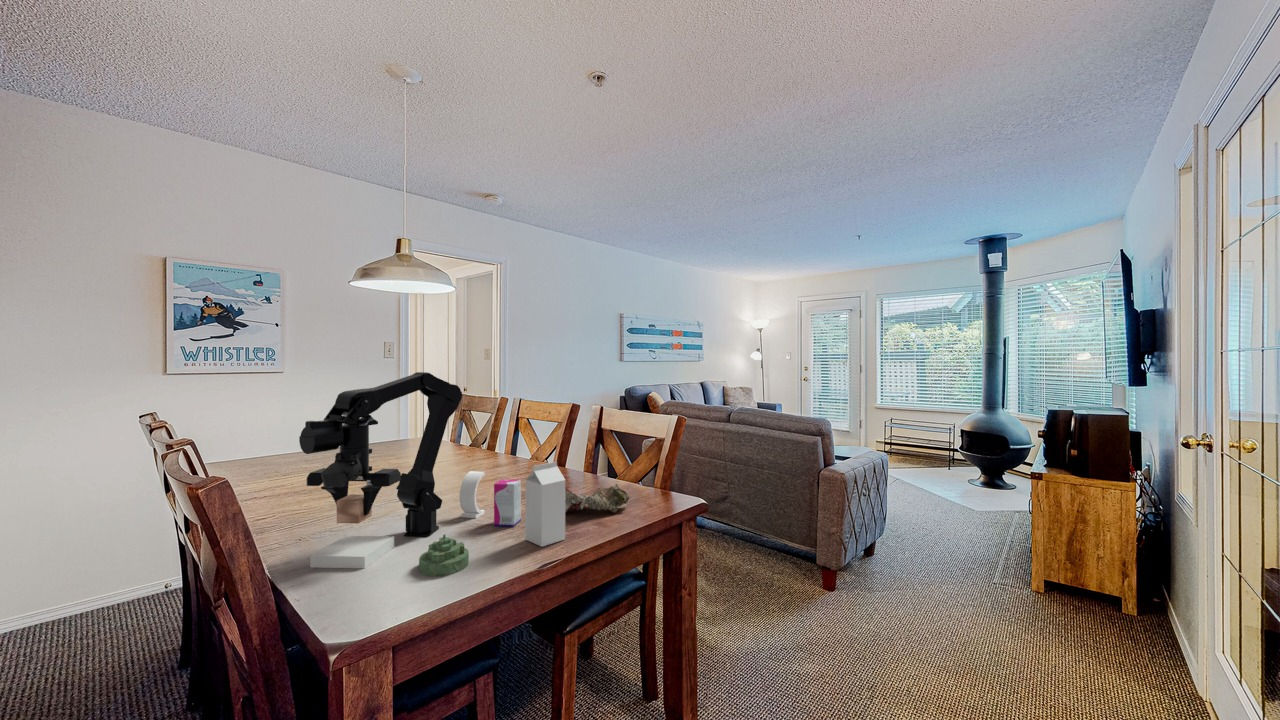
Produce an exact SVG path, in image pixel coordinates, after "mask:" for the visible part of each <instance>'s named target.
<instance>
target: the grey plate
mask: <svg viewBox="0 0 1280 720" xmlns="http://www.w3.org/2000/svg"><path fill="white" fill-rule="evenodd" d="M394 548H395V536H387V535H385V536H384V535H383V536H378V535H376V536H375V535H374V536H373V535H371V536H370V535H344V536H342V537H340V538H338V539H337V540H335V541H333V542H332V543H330V544H328V545H326V546H325V547H323V548H321V549H319V550H318V551H316V552H314V553H312V554H311V555H310V556H309V568H321V569H324V568H325V569H366V568H367V567H369V566H370V565H372V564H373V563H374V562H375V561H377V560H379V559H380V558H381V557H382V556H384V555H385V554H387V553H388V552H390V550H392V549H394Z"/></svg>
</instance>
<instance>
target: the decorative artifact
mask: <svg viewBox="0 0 1280 720" xmlns="http://www.w3.org/2000/svg"><path fill="white" fill-rule="evenodd" d="M469 556H470V555H469V550H468V548H466V547H465V543H464V542H462V541H461V542H457V540H456V538H452V537H450V538H449V537H448V536H447V537H446V534H443V535H442V537H439V540H438V541H433V542H432V543H430V544H428V549H427V551H425V552H423V553H422V554H421V555H420V556H419V558H418V560H419V561H418V564H419V565H418V571H419V573H420V574H421V575H424V576H427V577H428V576H429V577H444V576H448V575H453V574H457V573H459V572H461V571H463V570H465V569H466V568H467V567H468V566H469V562H470V561H469V559H470V557H469Z"/></svg>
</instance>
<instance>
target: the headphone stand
mask: <svg viewBox="0 0 1280 720" xmlns="http://www.w3.org/2000/svg"><path fill="white" fill-rule="evenodd" d="M485 475H486V471H477V470H476V471H475V470H470V471H468V472H467V474H465V476H464V478H463V480H462V482H461V485H460V488H459V489H460V490H459V504H460V508H461V510H462V511H463V513H462V514H461V518H467V519H477V518H479V517H481V516H482V515H484V514H486V510H485V509H480V508H479V506H478V504H477V492H478V491H477V489H478V486H479V483H480V481H481V479H482V478H483V477H484V476H485Z"/></svg>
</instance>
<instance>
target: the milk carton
mask: <svg viewBox="0 0 1280 720" xmlns="http://www.w3.org/2000/svg"><path fill="white" fill-rule="evenodd" d="M532 469H533V470H532V471H531V473H530V474H528V476H527V477H526V478H525V480H524V481H525V482H524V487H525V488H524V490H525V491H524V496H525V497H524V500H525V501H524V502H525V503H524V504H525V505H524V510H525V511H524V534H525V535H524V540H525V541H528V542H530V543H533V544H535V545H536V546H540V547H546V546H549V545H552V544H555V543H557V542H561V541H563V540H565V539H566V513H565V489H566V478H565V477H564V475H563V473H562V472H561V470H560V469H559V467H558V461H554V462H552V461H551V462H548V463H542V464H537V465H533V467H532Z"/></svg>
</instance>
